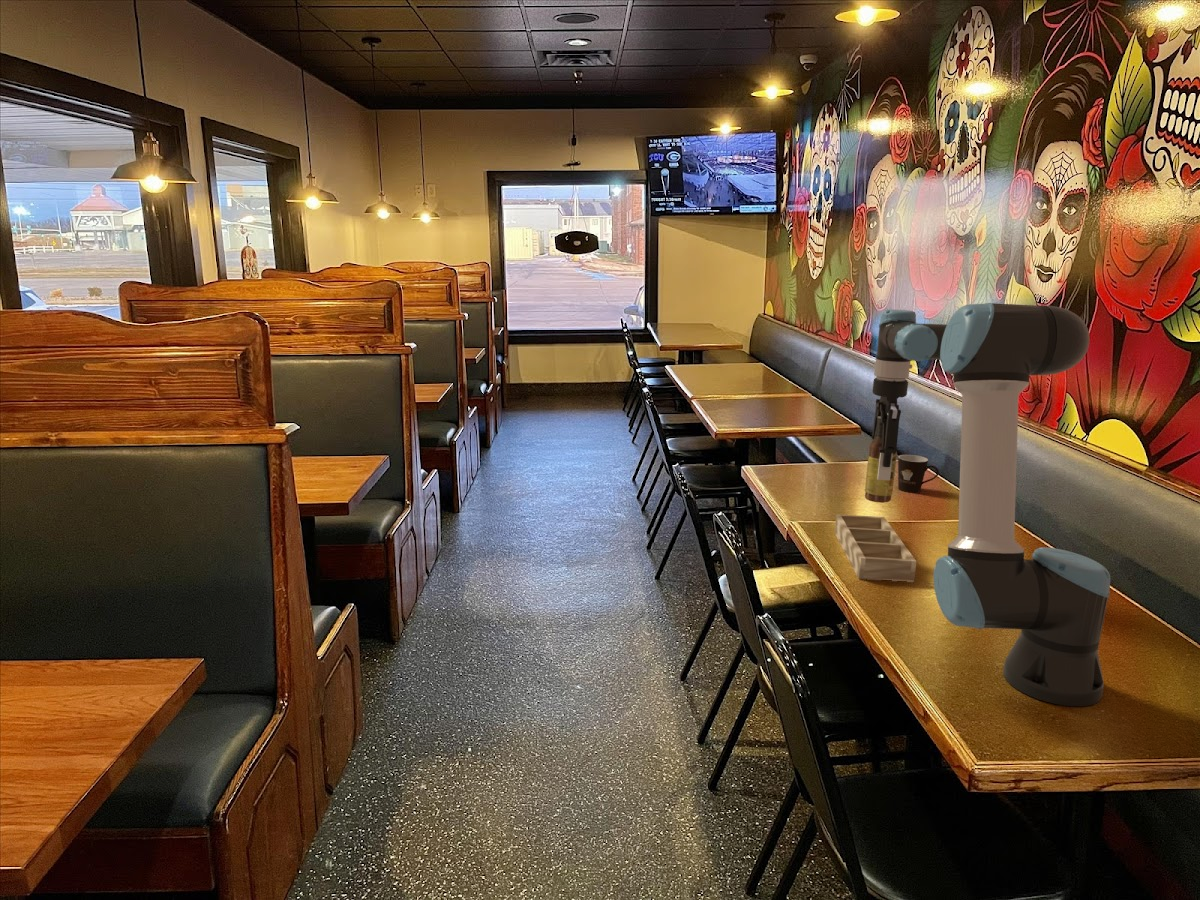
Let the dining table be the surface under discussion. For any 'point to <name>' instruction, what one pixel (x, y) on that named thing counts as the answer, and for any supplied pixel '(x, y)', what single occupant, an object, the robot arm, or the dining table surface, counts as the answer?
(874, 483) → the sauce bottle
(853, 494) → the dining table surface
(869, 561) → the condiment rack
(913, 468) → the coffee mug
